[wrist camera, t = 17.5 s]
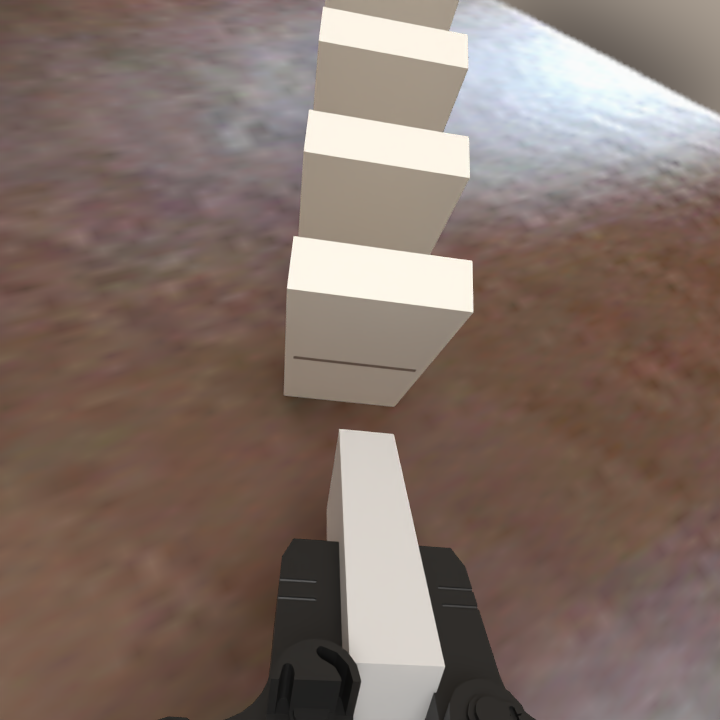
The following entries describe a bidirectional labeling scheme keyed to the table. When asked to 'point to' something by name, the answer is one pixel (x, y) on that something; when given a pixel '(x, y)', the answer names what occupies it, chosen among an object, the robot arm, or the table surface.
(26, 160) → the table surface
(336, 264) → the ivory domino
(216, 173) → the table surface
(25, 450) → the table surface
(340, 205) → the ivory domino
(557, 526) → the table surface
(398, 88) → the ivory domino
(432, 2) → the ivory domino
